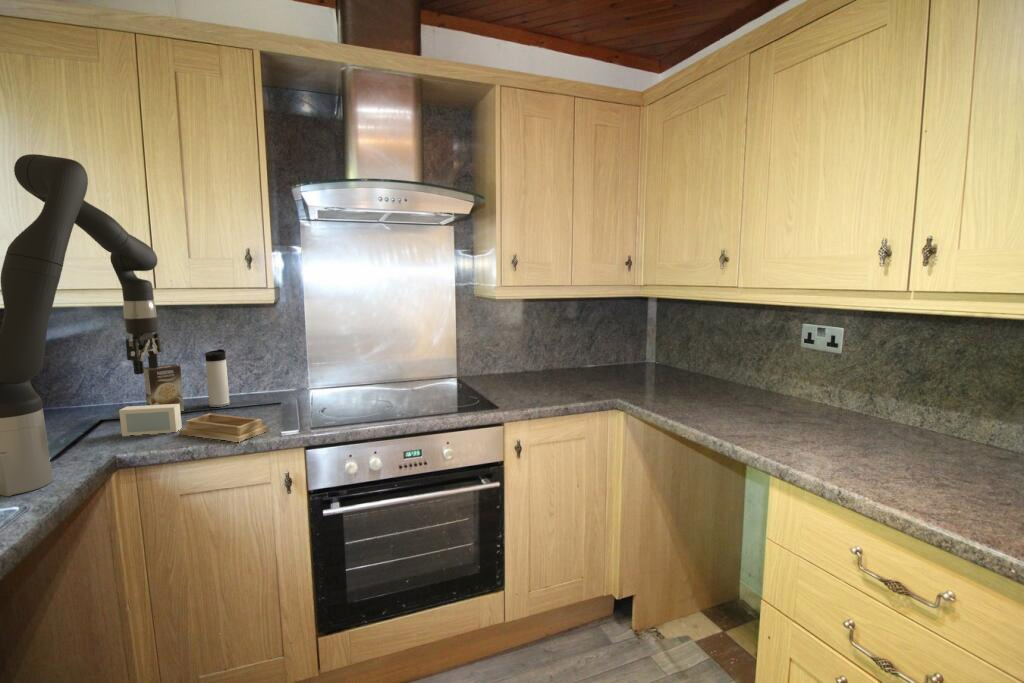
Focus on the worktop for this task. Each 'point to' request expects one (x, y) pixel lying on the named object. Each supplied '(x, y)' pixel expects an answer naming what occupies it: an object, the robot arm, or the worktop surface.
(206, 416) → the wooden tray
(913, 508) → the worktop surface
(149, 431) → the cream rectangular block
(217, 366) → the travel mug
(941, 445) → the worktop surface
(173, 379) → the coffee box
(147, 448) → the worktop surface
